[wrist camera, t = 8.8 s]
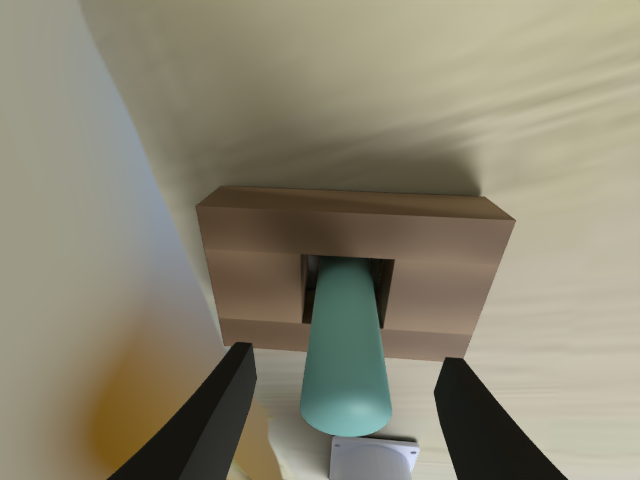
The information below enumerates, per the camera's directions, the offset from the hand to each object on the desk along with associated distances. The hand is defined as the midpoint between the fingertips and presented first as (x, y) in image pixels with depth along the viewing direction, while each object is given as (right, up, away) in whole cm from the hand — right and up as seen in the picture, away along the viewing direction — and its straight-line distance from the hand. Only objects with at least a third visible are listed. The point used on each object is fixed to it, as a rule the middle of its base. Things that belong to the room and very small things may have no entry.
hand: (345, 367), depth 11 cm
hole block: (0, +3, +6) cm, 7 cm away
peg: (+1, +3, +6) cm, 7 cm away
